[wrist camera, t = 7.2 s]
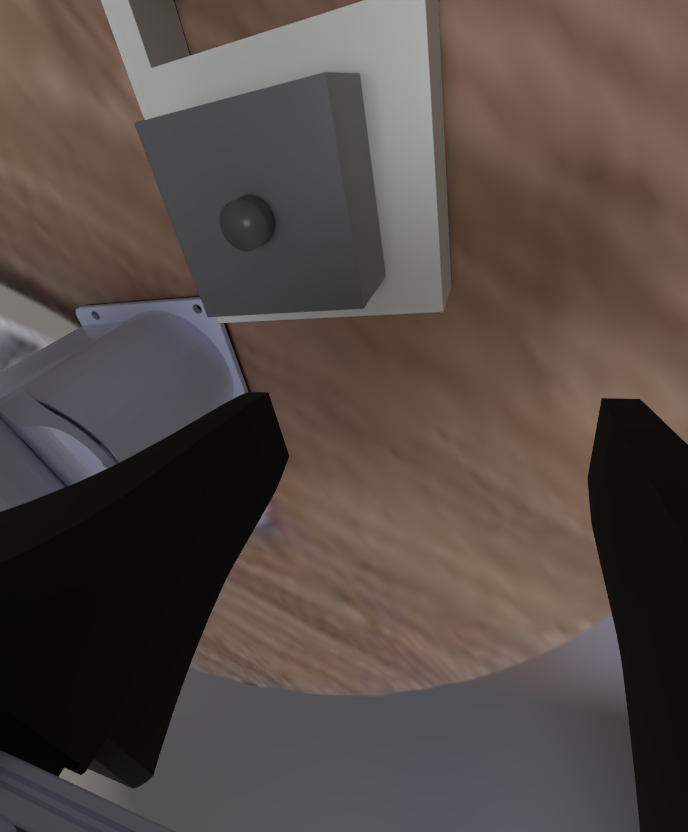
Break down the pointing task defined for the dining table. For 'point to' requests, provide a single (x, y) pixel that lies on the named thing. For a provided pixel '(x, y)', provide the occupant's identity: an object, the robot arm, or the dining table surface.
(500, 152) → the dining table surface
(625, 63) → the dining table surface
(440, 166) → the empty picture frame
